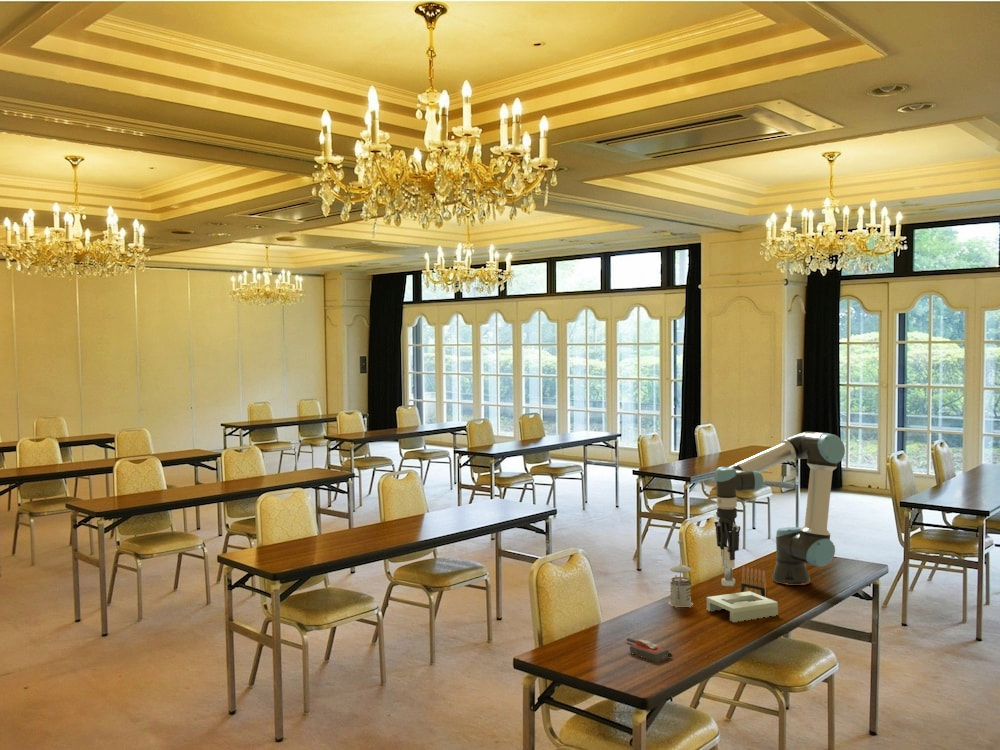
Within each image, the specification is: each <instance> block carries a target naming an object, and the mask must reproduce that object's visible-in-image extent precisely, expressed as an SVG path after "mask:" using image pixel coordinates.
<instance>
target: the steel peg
mask: <svg viewBox="0 0 1000 750" xmlns="http://www.w3.org/2000/svg"><path fill="white" fill-rule="evenodd" d="M728 550H729V548H728V545H727V546H724V566H723V568H724V571H723V572H724V577H722V578H721V579H720V580H721V583H720V584H721V585H722V586H723V587H736V586H737V579H736V578H734V577H733V568H728V556H727V552H728Z"/></svg>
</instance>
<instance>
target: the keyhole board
mask: <svg viewBox="0 0 1000 750" xmlns="http://www.w3.org/2000/svg"><path fill="white" fill-rule="evenodd" d="M778 604H779V602H778V601H776V600H774V599H771V598H768V597H767V598H766V597H763V596H761V595H758V594H756V593H753V592H750V591H747V592H741V591H740V592H733V593H727V594H725V593H724V594H719V595H712V596H706V611H707V610H708V611H707V612H709V611H711V612H715V610H718V611H722V610H721V609H725V610H726V611H728V612H729V621H730V622H731V621H732V622H731V623H738V621H739V622H745V621H744V620H746V621H752V620H757V618H759V619H764V618H763V617H765V618H770V617H769V616H772V617H777V616H776V615H778V616H779V611H778V610H779V605H778ZM751 619H752V620H751Z"/></svg>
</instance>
